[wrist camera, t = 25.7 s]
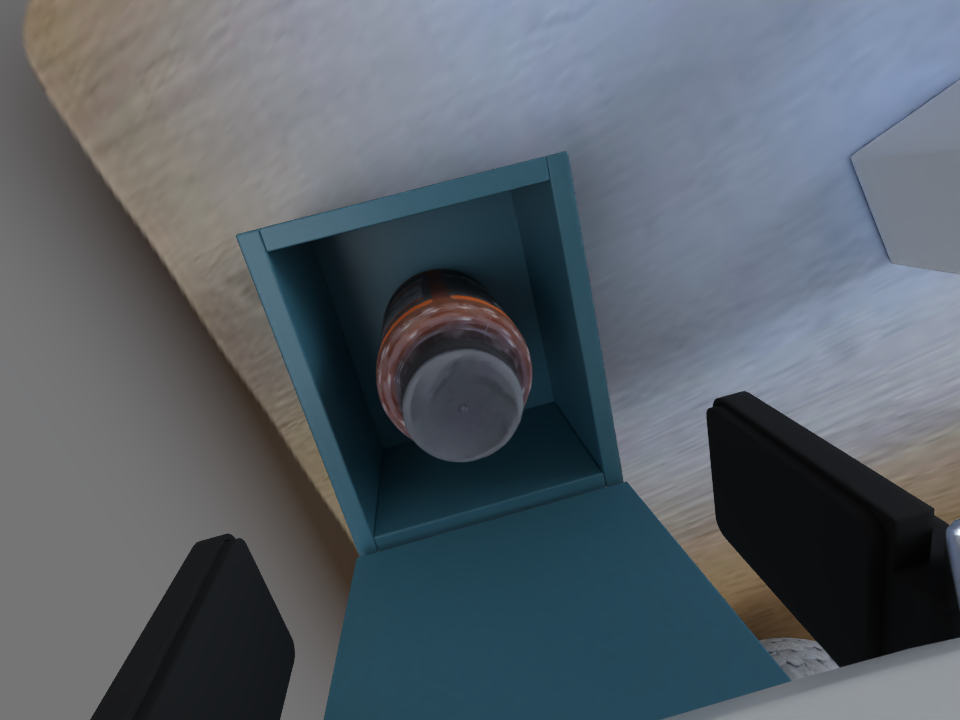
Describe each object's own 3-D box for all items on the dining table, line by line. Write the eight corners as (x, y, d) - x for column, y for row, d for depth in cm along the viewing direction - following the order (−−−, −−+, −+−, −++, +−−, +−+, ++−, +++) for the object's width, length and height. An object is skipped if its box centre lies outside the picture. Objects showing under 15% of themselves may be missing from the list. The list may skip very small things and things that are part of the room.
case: (291, 220, 26) (234, 234, 17) (518, 163, 26) (568, 150, 18) (373, 457, 30) (360, 558, 22) (566, 404, 31) (624, 483, 22)
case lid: (230, 1165, 7) (336, 1328, 9) (988, 914, 8) (987, 1099, 9) (355, 557, 21) (389, 651, 22) (626, 480, 22) (645, 576, 23)
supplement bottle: (371, 362, 28) (346, 470, 17) (400, 252, 26) (392, 294, 15) (479, 388, 29) (519, 505, 18) (512, 285, 27) (578, 345, 17)
